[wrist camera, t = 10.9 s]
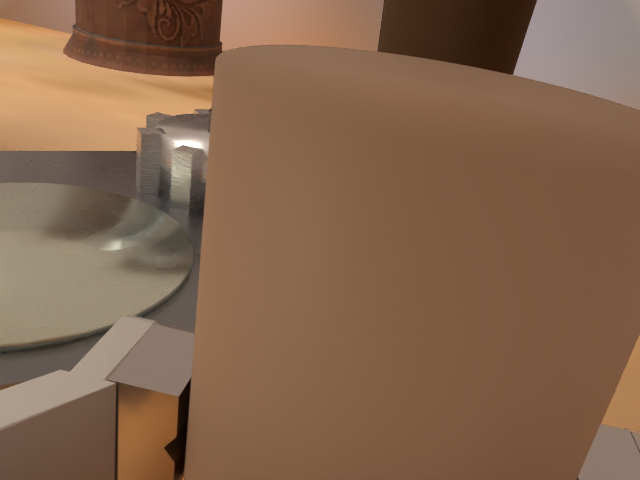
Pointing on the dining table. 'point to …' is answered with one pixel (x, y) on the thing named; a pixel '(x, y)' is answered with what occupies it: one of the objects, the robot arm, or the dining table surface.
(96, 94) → the dining table surface
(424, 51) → the olive oil
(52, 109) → the dining table surface
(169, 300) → the carrier plate
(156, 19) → the cup holder
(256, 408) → the gear
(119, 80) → the dining table surface
